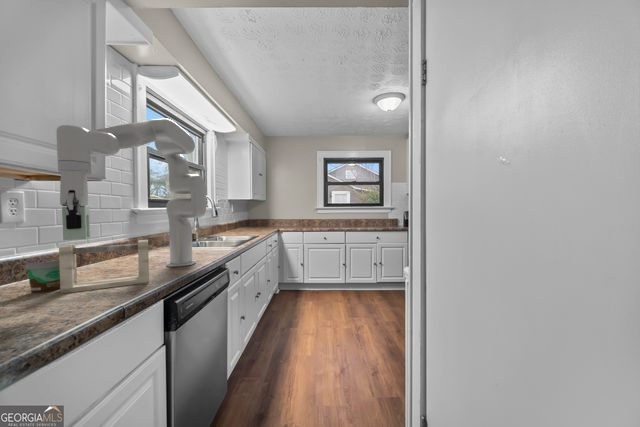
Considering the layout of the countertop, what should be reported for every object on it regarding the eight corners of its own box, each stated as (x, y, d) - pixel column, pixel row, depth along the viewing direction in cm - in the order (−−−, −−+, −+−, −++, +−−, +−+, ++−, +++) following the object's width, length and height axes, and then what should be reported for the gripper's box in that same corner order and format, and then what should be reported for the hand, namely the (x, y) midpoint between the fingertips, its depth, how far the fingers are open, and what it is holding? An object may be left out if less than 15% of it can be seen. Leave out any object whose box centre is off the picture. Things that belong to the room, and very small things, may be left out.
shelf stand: (65, 288, 93) (64, 244, 92) (148, 278, 106) (148, 239, 105) (60, 293, 88) (58, 247, 87) (148, 282, 100) (147, 241, 100)
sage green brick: (69, 237, 85) (68, 206, 84) (90, 236, 87) (89, 206, 87) (63, 240, 79) (61, 207, 78) (85, 239, 81) (84, 207, 81)
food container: (40, 295, 86) (39, 263, 86) (25, 294, 88) (24, 263, 87) (81, 284, 99) (80, 256, 98) (68, 283, 100) (67, 255, 99)
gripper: (66, 171, 88) (68, 226, 88) (48, 164, 73) (51, 231, 74) (96, 172, 92) (97, 225, 92) (85, 166, 77) (87, 229, 77)
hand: (77, 227), depth 83 cm, fingers closed on sage green brick, 7 cm apart
